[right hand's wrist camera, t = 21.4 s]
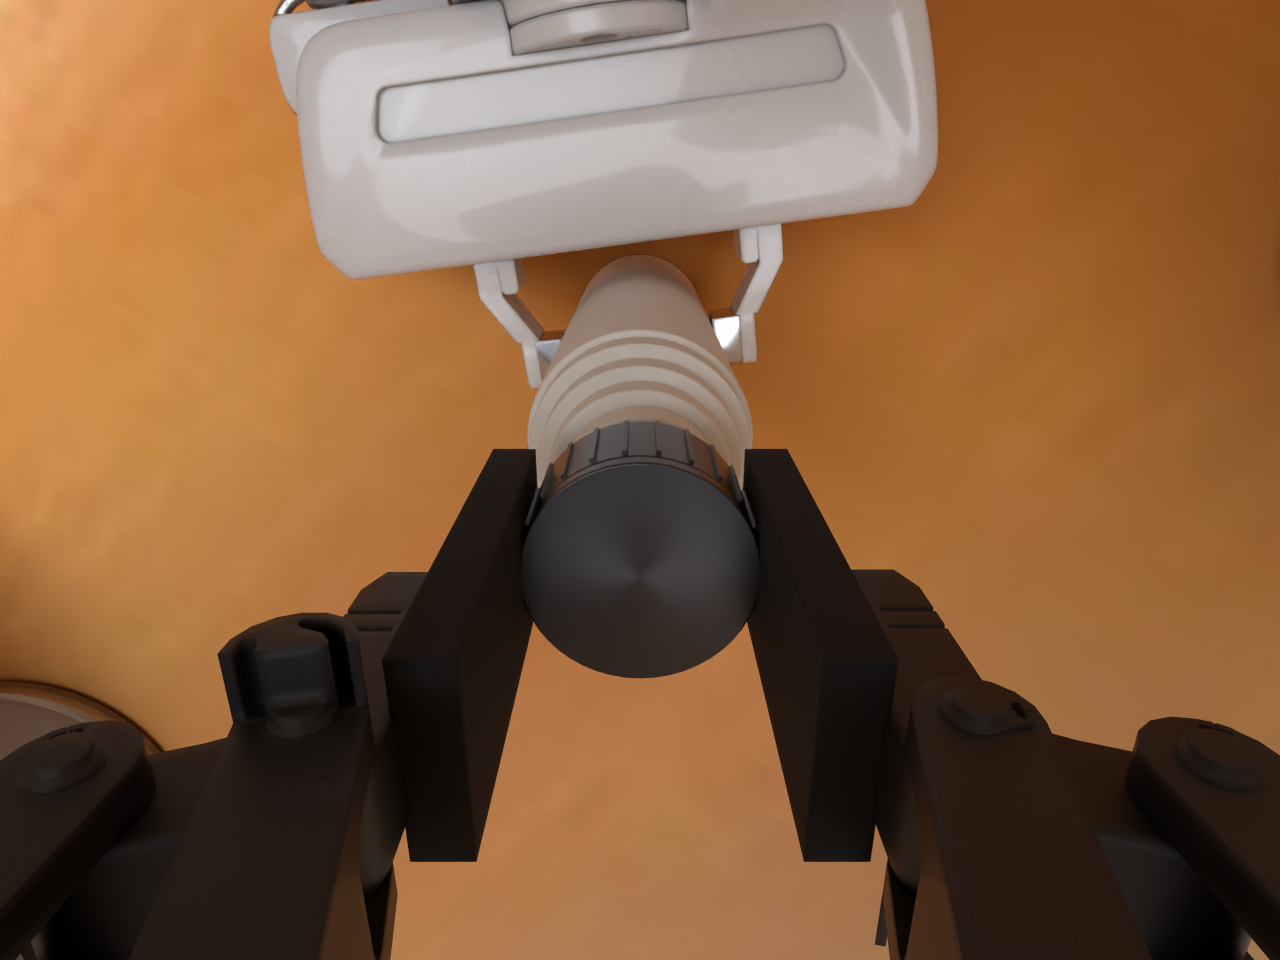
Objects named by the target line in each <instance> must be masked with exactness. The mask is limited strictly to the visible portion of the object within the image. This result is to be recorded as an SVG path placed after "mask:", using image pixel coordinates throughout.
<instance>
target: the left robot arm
mask: <svg viewBox="0 0 1280 960" xmlns="http://www.w3.org/2000/svg"><path fill="white" fill-rule="evenodd" d="M305 1H306V2H307V4H308V5H309V7H310V8H312V9H316V10H309V11H303V12H296V13H292V12H293V11H294V9H295V8H296V7H297V6H299V5H300V4H302V3H303V2H305ZM366 1H369V2H366ZM360 2H363V3H360ZM354 3H356V4H354ZM453 4H454V5H453ZM269 39H270V46H271V50H272V54H273V57H274V61H275V65H276V69H277V73H278V77H279V80H280V84H281V88H282V91H283V93H284V96H285V98H286V100H287V102H288V104H289V106H290V108H291V109H292V111H293V112H294V113H295V115H296V116H297V120H298V131H299V141H300V150H301V158H302V165H303V173H304V180H305V186H306V192H307V197H308V203H309V208H310V213H311V218H312V223H313V228H314V232H315V236H316V241H317V244H318V247H319V250H320V252H321V254H322V255H323V256H324V257H325V259H327V260H328V261H329V262H330V263H331V264H332V265H333V266H334V267H335V268H337V269H338V270H339V271H340V272H341V273H342V274H343V275H345V276H346V277H347V278H349V279H352V280H361V279H369V278H376V277H384V276H391V275H399V274H406V273H414V272H421V271H429V270H437V269H444V268H452V267H459V266H467V265H473V267H474V272H475V277H476V282H477V287H478V292H479V297H480V300H481V301H482V302H483V303H484V304H485V306H486V307H487V308H488V309H489V310H490V312H491V313H492V314H493V315H494V316H495V317H496V319H497V320H498V321H499V322H500V323H501V325H502V326H503V327H504V328H505V329H506V330H507V332H508V333H509V334H510V335H511V336H512V338H513V339H514V340H515V341H516V342H517V343H521V346H522V351H523V356H524V362H525V367H526V373H527V378H528V383H529V386H530V388H531V390H533V389H539V387H540V385H541V383H542V381H543V378H544V376H545V374H546V372H547V370H548V368H549V366H550V364H551V361H552V359H553V357H554V355H555V353H556V351H557V349H558V346H559V344H560V342H561V340H562V338H563V336H564V334H565V332H566V330H556V331H547V332H544V329H543V328H542V327H541V325H540V324H539V323H538V321H537V320H536V319H535V318H534V316H533V315H532V314H531V312H530V311H529V310H528V309H527V307H526V306H525V305H524V303H523V302H522V301H521V299H520V298H519V297H518V296H517V294H516V293H517V292H518V291H519V290H520V289H521V288H522V287H523V286H524V285H525V284H526V283H527V279H526V273H525V267H524V261H523V258H527V257H534V256H542V255H549V254H557V253H564V252H572V251H579V250H587V249H594V248H602V247H609V246H617V245H624V244H632V243H639V242H647V241H654V240H662V239H669V238H677V237H684V236H692V235H699V234H707V233H714V232H722V231H729V230H733V238H734V248H735V255H736V256H737V257H738V258H740V259H741V260H742V261H743V262H745V263H749V264H748V266H747V268H746V271H745V273H744V275H743V278H742V280H741V282H740V284H739V287H738V289H737V291H736V293H735V296H734V298H733V300H732V303H731V305H730V308H726V309H719V310H713V311H708V315H709V321H710V323H711V325H712V327H713V329H714V331H715V334H716V336H717V338H718V340H719V342H720V344H721V346H722V348H723V351H724V353H725V355H726V357H727V359H728V361H729V363H730V365H734V364H742V363H750V362H756V359H757V349H756V335H755V322H754V313H758V311H759V309H760V306H761V304H762V302H763V300H764V298H765V296H766V294H767V292H768V290H769V288H770V286H771V284H772V282H773V280H774V277H775V275H776V273H777V271H778V269H779V267H780V265H781V263H782V261H783V248H782V230H781V224H782V223H789V222H797V221H804V220H812V219H819V218H827V217H834V216H842V215H849V214H857V213H864V212H872V211H879V210H887V209H894V208H901V207H907V206H910V205H912V204H913V203H914V202H915V201H916V200H917V199H918V198H919V196H920V195H921V193H922V192H923V190H924V189H925V188H926V186H927V184H928V183H929V181H930V180H931V178H932V177H933V175H934V173H935V170H936V167H937V161H938V107H937V90H936V77H935V66H934V55H933V47H932V39H931V31H930V24H929V17H928V11H927V5H926V1H925V0H376V1H372V0H281V1H280V3H279V4H278V6H277V8H276V10H275V12H274V15H273V18H272V20H271V22H270V27H269Z"/></svg>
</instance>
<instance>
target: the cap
mask: <svg viewBox="0 0 1280 960" xmlns="http://www.w3.org/2000/svg"><path fill="white" fill-rule="evenodd" d="M524 528H526V529H527V531H526V534H525V537H524V540H523V544H522V547H521V567H522V583H523V598H524V603H525V605H526V608H527V610H528V612H529V614H530V616H531V618H532V620H533V621H534V623H535V624H536V626H537V628H538V629H539V630H540V632H541V633H542V634H543V635H544V636H545V638H546V639H547V640H548V641H549V642H550V643H551V644H552V645H553V646H555V647H556V648H557V649H558V650H559V651H560V652H562V653H563V654H565V655H566V656H567V657H569V658H570V659H572V660H574V661H576V662H578V663H579V664H581V665H583V666H585V667H588V668H590V669H593V670H595V671H598V672H602V673H605V674H609V675H614V676H620V677H626V678H654V677H661V676H667V675H672V674H675V673H679V672H682V671H685V670H688V669H690V668H692V667H695V666H697V665H699V664H701V663H703V662H705V661H706V660H708V659H710V658H712V657H713V656H714V655H716V654H717V653H719V652H720V651H721V650H723V649H724V648H725V647H726V646H727V645H728V644H729V643H730V642H731V641H732V640H733V639H734V638H735V637H736V636H737V634H738V633H739V632H740V631H741V630H742V628H743V627H744V625H745V623H746V622H747V620H748V619H749V617H750V615H751V613H752V611H753V608H754V606H755V604H756V601H757V591H758V575H759V557H760V550H759V545H758V542H757V539H756V536H755V533H754V532H756V531H757V526H756V523H755V520H754V517H753V514H752V511H751V508H750V505H749V502H748V499H747V496H746V493H745V490H742V491H741V489H740V486H739V482H738V479H737V476H736V473H735V470H734V467H733V466H732V465H730V466H728V464H727V463H726V461H725V460H724V459H723V458H722V457H721V456H720V455H719V453H718V452H717V451H716V449H715V446H714V445H712V444H710V445H708V444H707V443H706V442H704V441H703V440H701V439H700V438H698V437H697V436H695V435H693V434H691V433H690V432H689V430H688V429H685V430H682V429H679V428H676V427H673V426H670V425H666V424H660V421H655V422H629V420H626V421H624V423H620V424H615V425H610V426H607V427H604V428H601V429H599V428H595V429H594V432H592V433H590V434H588V435H585V436H584V437H582V438H581V439H579V440H578V441H576V442H575V443H572V442H570V443H569V444H568V447H567V449H566V450H565V451H564V452H563V453H562V454H561V455H560V456H559V457H558V458H557V460H556V461H555V462H554V463H553V464H552V463H551V462H550V464H549V465H548V468H547V471H546V474H545V477H544V480H543V482H542V484H541V487H540V488H538V487H537V488H536V491H535V494H534V497H533V500H532V503H531V506H530V509H529V512H528V515H527V518H526V521H525V524H524Z"/></svg>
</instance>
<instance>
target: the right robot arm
mask: <svg viewBox="0 0 1280 960" xmlns="http://www.w3.org/2000/svg"><path fill="white" fill-rule="evenodd" d="M537 487H538V485H537V465H536V449H493V451H492V453H491V455H490V457H489V458H488V460H487V462H486V464H485V466H484V468H483V470H482V472H481V474H480V475H479V477H478V479H477V481H476V483H475V485H474V487H473V489H472V491H471V492H470V494H469V496H468V498H467V500H466V502H465V504H464V506H463V507H462V509H461V511H460V513H459V515H458V517H457V519H456V521H455V523H454V524H453V526H452V528H451V530H450V532H449V534H448V536H447V538H446V540H445V541H444V543H443V545H442V547H441V549H440V551H439V553H438V555H437V557H436V558H435V560H434V562H433V564H432V566H431V568H430V570H429V572H387V573H385V574H384V575H382V576H381V577H380V578H378V579H377V580H375V581H374V582H372V583H371V584H369V585H368V586H366V587H365V588H363V589H362V590H361V591H360V593H359V594H358V596H357V597H356V599H355V600H354V602H353V603H352V605H351V606H350V608H349V609H348V614H345V615H344V617H341V616H337V615H333V614H330V613H298V614H293V615H288V616H282V617H277V618H274V619H271V620H268V621H266V622H263V623H260V624H257V625H255V626H252V627H250V628H248V629H247V630H245V631H243V632H242V633H240V634H239V635H237V636H235V637H234V638H232V639H230V641H229V642H228V643H227V644H226V645H225V646H224V647H223V648H222V650H221V651H220V652H219V653H218V658H219V662H220V667H221V671H222V675H223V680H224V684H225V689H226V693H227V697H228V702H229V706H230V710H231V715H232V719H233V725H232V728H231V730H230V732H229V734H228V737H227V738H223V739H219V740H216V741H212V742H208V743H204V744H200V745H195V746H190V747H185V748H180V749H175V750H171V751H166V752H160V751H159V750H158V749H157V747H156V746H155V745H154V744H153V743H152V742H151V741H150V740H149V739H148V738H147V737H146V736H145V735H144V734H143V733H142V732H141V731H139V730H138V729H137V728H136V727H134V726H133V725H132V724H131V723H129V722H128V721H126V720H125V719H124V718H122V717H121V716H119V715H118V714H116V713H114V712H113V711H111V710H109V709H108V708H106V707H104V706H102V705H100V704H98V703H96V702H94V701H92V700H90V699H87V698H85V697H82V696H80V695H78V694H75V693H72V692H69V691H65V690H62V689H58V688H54V687H51V686H46V685H40V684H35V683H26V682H0V960H390V957H391V948H392V939H393V930H394V921H395V912H396V903H397V888H396V881H395V874H394V867H393V859H394V856H395V854H396V851H397V848H398V845H399V843H400V840H401V837H402V834H403V831H404V829H405V828H406V835H407V842H408V849H409V856H410V862H476V861H477V857H478V853H479V849H480V844H481V840H482V836H483V832H484V828H485V823H486V819H487V815H488V811H489V806H490V802H491V798H492V794H493V790H494V785H495V781H496V777H497V773H498V769H499V764H500V760H501V756H502V752H503V748H504V743H505V739H506V735H507V731H508V726H509V722H510V718H511V714H512V710H513V705H514V701H515V697H516V693H517V689H518V684H519V680H520V676H521V672H522V667H523V663H524V659H525V655H526V651H527V646H528V642H529V638H530V634H531V630H532V625H533V620H532V618H531V616H530V614H529V612H528V610H527V608H526V605H525V603H524V598H523V583H522V567H521V547H522V544H523V540H524V537H525V534H526V531H527V529H526V528H524V524H525V521H526V518H527V515H528V512H529V509H530V506H531V503H532V500H533V497H534V494H535V491H536V488H537ZM743 490H745V493H746V496H747V499H748V502H749V505H750V508H751V511H752V514H753V517H754V520H755V523H756V526H757V531H756V532H754V533H755V536H756V539H757V542H758V545H759V550H760V557H759V575H758V591H757V601H756V604H755V606H754V608H753V611H752V613H751V615H750V617H749V619H748V620H747V623H748V628H749V632H750V636H751V640H752V644H753V649H754V653H755V657H756V661H757V665H758V670H759V674H760V678H761V682H762V686H763V691H764V695H765V699H766V703H767V708H768V712H769V716H770V720H771V724H772V729H773V733H774V737H775V741H776V745H777V750H778V754H779V758H780V762H781V766H782V771H783V775H784V779H785V783H786V788H787V792H788V796H789V800H790V804H791V809H792V813H793V817H794V821H795V825H796V830H797V834H798V838H799V842H800V847H801V851H802V855H803V859H804V862H870V860H871V853H872V846H873V839H874V832H875V825H876V826H877V829H878V832H879V834H880V837H881V840H882V843H883V845H884V848H885V851H886V854H887V856H888V861H887V867H886V874H885V880H884V887H883V894H882V900H881V907H880V913H879V920H878V927H877V934H876V941H875V945H881V946H886V940H887V937H888V946H889V955H890V960H1254V959H1253V958H1252V957H1251V955H1250V954H1249V953H1248V952H1247V949H1248V946H1249V944H1250V941H1251V938H1252V939H1253V940H1254V942H1255V943H1256V944H1257V945H1258V946H1259V947H1260V949H1261V950H1262V951H1263V952H1264V953H1265V955H1266V956H1267V957H1268V958H1269V959H1270V960H1280V755H1278V754H1277V753H1275V752H1274V751H1272V750H1271V749H1269V748H1268V747H1267V746H1265V745H1264V744H1262V743H1261V742H1259V741H1257V740H1255V739H1253V738H1250V737H1248V736H1246V735H1244V734H1242V733H1239V732H1237V731H1235V730H1234V729H1232V728H1230V727H1227V726H1224V725H1220V724H1217V723H1216V724H1214V723H1212V722H1209V721H1204V720H1199V719H1191V718H1180V717H1166V718H1161V719H1156V720H1151V721H1149V722H1148V723H1147V724H1146V725H1144V726H1143V727H1142V728H1141V729H1140V730H1139V731H1138V734H1137V737H1136V741H1135V745H1134V748H1133V752H1131V751H1127V750H1122V749H1117V748H1112V747H1107V746H1102V745H1098V744H1093V743H1088V742H1083V741H1078V740H1074V739H1070V738H1067V737H1063V736H1059V735H1055V734H1052V733H1051V731H1050V728H1049V726H1048V724H1047V722H1046V721H1045V719H1044V718H1043V717H1042V715H1041V714H1040V713H1039V711H1038V710H1037V709H1036V707H1035V706H1034V705H1032V704H1031V703H1029V702H1028V701H1027V700H1025V699H1024V698H1022V697H1021V696H1020V695H1018V694H1017V693H1015V692H1013V691H1011V690H1009V689H1006V688H1004V687H1001V686H999V685H997V684H994V683H992V682H988V681H984V680H982V679H981V678H980V676H979V675H978V673H977V672H976V670H975V669H974V667H973V666H972V664H971V663H970V661H969V660H968V658H967V657H966V656H965V654H964V653H963V651H962V650H961V648H960V647H959V645H958V644H957V642H956V641H955V639H954V638H953V636H952V635H951V633H950V632H949V630H948V629H945V627H944V623H943V621H942V620H941V618H940V617H939V615H938V614H937V612H936V611H933V607H932V605H931V604H930V602H929V601H928V599H927V598H926V596H925V595H924V593H923V592H922V590H921V589H920V587H919V586H917V585H916V584H914V583H913V582H911V581H910V580H908V579H907V578H905V577H904V576H902V575H901V574H899V573H898V572H896V571H895V570H851V569H850V567H849V565H848V563H847V561H846V559H845V557H844V555H843V554H842V552H841V550H840V548H839V546H838V544H837V542H836V540H835V539H834V537H833V535H832V533H831V531H830V529H829V527H828V525H827V523H826V522H825V520H824V518H823V516H822V514H821V512H820V510H819V508H818V507H817V505H816V503H815V501H814V499H813V497H812V495H811V493H810V491H809V490H808V488H807V486H806V484H805V482H804V480H803V478H802V476H801V474H800V473H799V471H798V469H797V467H796V465H795V463H794V461H793V459H792V458H791V456H790V454H789V452H788V450H787V449H745V456H744V475H743Z"/></svg>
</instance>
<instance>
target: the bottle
mask: <svg viewBox="0 0 1280 960" xmlns="http://www.w3.org/2000/svg"><path fill="white" fill-rule="evenodd" d="M626 420H629V422H655V421H660V424H666V425H670V426H673V427H676V428H679V429H682V430H685V429H688V430H689V432H690V433H691V434H693V435H695V436H697V437H698V438H700V439H701V440H703V441H704V442H706V443H707V444H708V445H710V444H712V445H714V446H715V449H716V451H717V452H718V453H719V455H720V456H721V457H722V458H723V459H724V460H725V461H726V463H727V464H728V466H730V465H732V466H733V467H734V470H735V473H736V476H737V479H738V482H739V486H740V489H741V490H742V488H743V475H744V456H745V449H752V444H753V429H752V419H751V415H750V410H749V406H748V403H747V401H746V398H745V396H744V393H743V391H742V389H741V387H740V385H739V382H738V380H737V378H736V376H735V374H734V372H733V370H732V368H731V365H730V363H729V361H728V359H727V357H726V355H725V353H724V351H723V348H722V346H721V344H720V342H719V340H718V338H717V336H716V334H715V331H714V329H713V327H712V325H711V323H710V321H709V319H708V317H707V314H706V312H705V310H704V308H703V306H702V304H701V302H700V300H699V298H698V295H697V293H696V291H695V289H694V287H693V286H692V284H691V282H690V281H689V279H688V278H687V277H686V276H685V275H684V273H683V272H682V271H681V270H679V269H678V268H677V267H676V266H674V265H673V264H671V263H669V262H668V261H665V260H663V259H661V258H658V257H654V256H649V255H631V256H626V257H622V258H619V259H617V260H615V261H612V262H611V263H609V264H607V265H606V266H604V267H603V268H602V269H601V270H599V271H598V272H597V273H596V274H595V276H594V277H593V278H592V279H591V281H590V282H589V283H588V285H587V287H586V289H585V291H584V293H583V295H582V297H581V300H580V302H579V304H578V306H577V308H576V310H575V312H574V314H573V317H572V319H571V321H570V323H569V325H568V327H567V329H566V332H565V334H564V336H563V338H562V340H561V342H560V344H559V346H558V349H557V351H556V353H555V355H554V357H553V359H552V361H551V364H550V366H549V368H548V370H547V372H546V374H545V376H544V378H543V381H542V383H541V385H540V387H539V389H538V391H537V393H536V396H535V399H534V401H533V404H532V407H531V411H530V416H529V420H528V431H527V441H528V449H536V465H537V485H538V488H540V487H541V484H542V482H543V480H544V477H545V474H546V471H547V468H548V465H549V464H550V462H551V463H552V464H553V463H554V462H555V461H556V460H557V458H558V457H559V456H560V455H561V454H562V453H563V452H564V451H565V450H566V449H567V447H568V444H569V443H570V442H572V443H575V442H576V441H578V440H579V439H581V438H582V437H584V436H585V435H588V434H590V433H592V432H594V429H595V428H599V429H601V428H604V427H607V426H610V425H615V424H620V423H624V421H626Z"/></svg>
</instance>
